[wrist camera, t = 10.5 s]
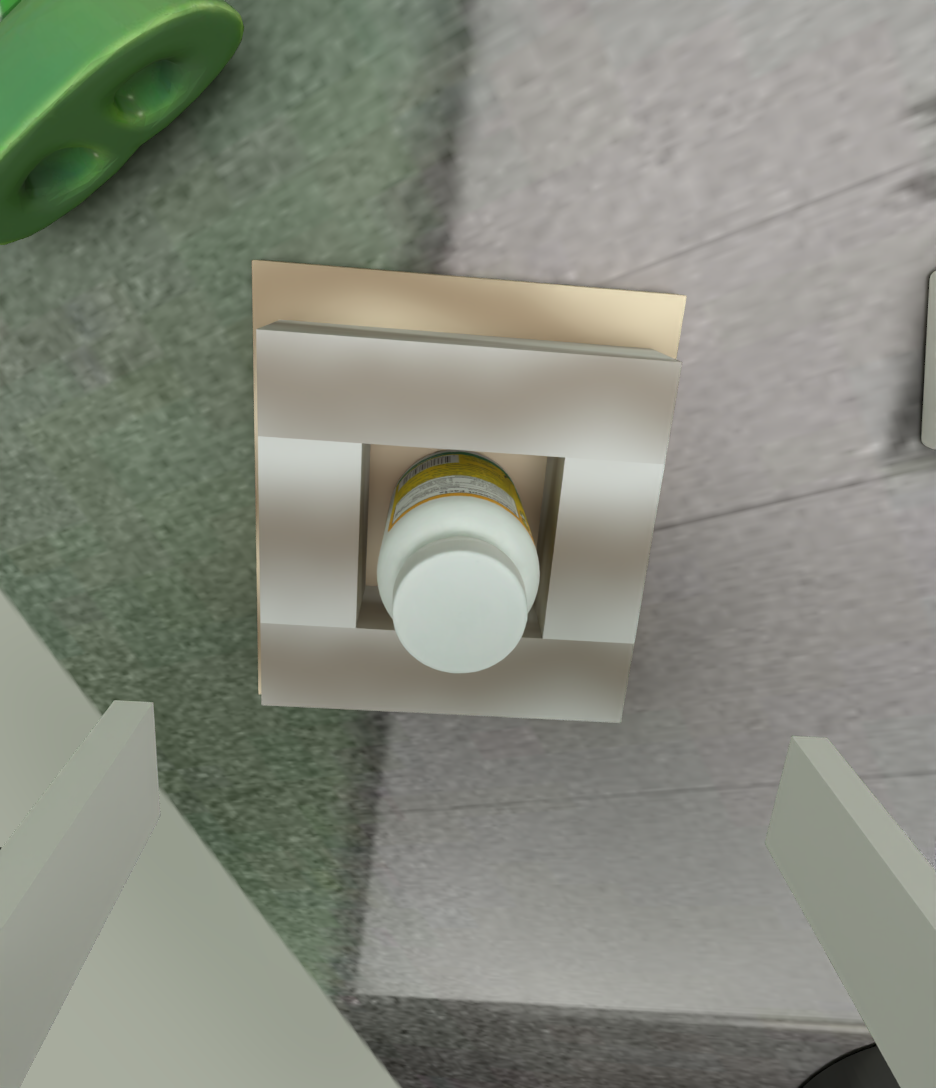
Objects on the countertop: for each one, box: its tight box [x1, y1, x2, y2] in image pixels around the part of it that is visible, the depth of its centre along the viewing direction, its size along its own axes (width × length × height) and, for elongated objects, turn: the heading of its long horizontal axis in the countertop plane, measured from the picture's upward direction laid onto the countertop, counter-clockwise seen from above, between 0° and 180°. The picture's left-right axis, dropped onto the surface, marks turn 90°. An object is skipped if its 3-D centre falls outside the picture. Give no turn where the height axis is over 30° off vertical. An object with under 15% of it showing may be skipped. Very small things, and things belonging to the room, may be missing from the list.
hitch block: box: [252, 260, 687, 723], centre depth 31 cm, size 18×16×6 cm
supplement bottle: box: [377, 450, 540, 673], centre depth 27 cm, size 5×5×10 cm
